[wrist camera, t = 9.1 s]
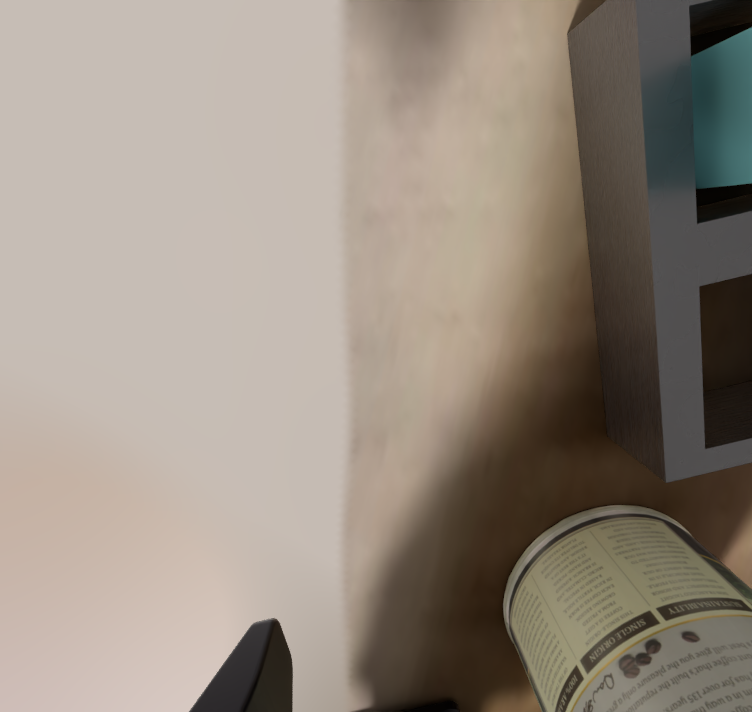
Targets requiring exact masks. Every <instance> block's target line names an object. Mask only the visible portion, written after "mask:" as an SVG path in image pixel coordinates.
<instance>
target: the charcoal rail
mask: <svg viewBox="0 0 752 712" xmlns="http://www.w3.org/2000/svg"><path fill="white" fill-rule="evenodd" d="M749 22H752V0H606V1H605V2H604V3H603V4H602V5H600V6H599V7H598V8H597V9H596V10H595V11H593V12H592V13H591V14H590V15H589V16H587V17H586V18H585V19H584V20H583V21H582V22H580V23H579V24H578V25H577V26H576V27H575V28H573V29H572V30H571V31H570V32H569V33H568V34H567V35H568V45H569V55H570V65H571V75H572V86H573V96H574V106H575V116H576V126H577V136H578V146H579V156H580V166H581V176H582V186H583V196H584V206H585V216H586V226H587V236H588V246H589V257H590V267H591V277H592V287H593V297H594V307H595V317H596V327H597V337H598V347H599V357H600V367H601V377H602V387H603V397H604V407H605V417H606V427H607V436H608V437H609V438H610V439H612V440H613V441H614V442H615V443H617V444H618V445H619V446H620V447H622V448H623V449H624V450H625V451H627V452H628V453H629V454H630V455H632V456H633V457H634V458H635V459H637V460H638V461H639V462H640V463H642V464H643V465H644V466H645V467H647V468H648V469H649V470H650V471H652V472H653V473H654V474H655V475H657V476H658V477H659V478H660V479H662V480H663V481H664V482H665V483H668V482H672V481H676V480H681V479H685V478H689V477H693V476H697V475H702V474H706V473H710V472H714V471H718V470H722V469H727V468H731V467H735V466H739V465H743V464H748V463H752V381H749V382H745V383H741V384H736V385H732V386H728V387H724V388H720V389H716V390H711V391H707V392H703V378H702V350H701V322H700V295H699V286H703V285H707V284H711V283H715V282H720V281H724V280H728V279H732V278H736V277H741V276H745V275H749V274H752V194H749V195H745V196H741V197H736V198H732V199H728V200H724V201H720V202H715V203H711V204H707V205H703V206H699V207H696V184H695V156H694V128H693V100H692V73H691V45H690V36H695V35H699V34H703V33H707V32H711V31H716V30H720V29H724V28H728V27H732V26H737V25H741V24H745V23H749Z"/></svg>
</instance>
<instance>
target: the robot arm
mask: <svg viewBox="0 0 752 712" xmlns="http://www.w3.org/2000/svg"><path fill="white" fill-rule="evenodd" d="M292 680H293V668H292V658H291V654H290V651H289V648H288V645H287V642H286V639H285V637H284V634H283V631H282V628H281V626H280V623H279V621H278V620H277V619H274V618H271V619H267V620H263V621H259V622H256V623H254V624H253V625H251V627H250V628H249V629H248V631H247V632H246V633H245V635H244V636H243V637H242V639H241V640H240V642H239V643H238V645H237V646H236V647H235V649H234V650H233V651H232V653H231V654H230V656H229V657H228V658H227V660H226V661H225V663H224V664H223V665H222V667H221V668H220V669H219V671H218V672H217V674H216V675H215V677H214V678H213V679H212V681H211V682H210V684H209V685H208V687H207V688H206V689H205V691H204V692H203V693H202V695H201V696H200V697H199V699H198V700H197V702H196V703H195V704H194V706H193V707H192V708H191V710H190V711H189V712H292V682H293V681H292ZM405 712H460V709H459V706H458V704H457V703H456V702H453V701H447V702H443V703H439V704H435V705H430V706H426V707H422V708H418V709H414V710H410V711H405Z"/></svg>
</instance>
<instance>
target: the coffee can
mask: <svg viewBox="0 0 752 712" xmlns="http://www.w3.org/2000/svg"><path fill="white" fill-rule="evenodd" d="M503 613H504V620H505V625H506V628H507V632H508V634H509V636H510V638H511V640H512V642H513V643H514V645H515V647H516V649H517V651H518V654H519V656H520V659H521V661H522V664H523V666H524V668H525V671H526V673H527V676H528V678H529V681H530V683H531V686H532V688H533V691H534V693H535V696H536V698H537V701H538V703H539V706H540V708H541V710H542V712H752V589H751V588H749V587H748V586H747V585H746V584H745V583H744V582H743V581H742V580H740V579H739V578H738V577H737V576H736V575H735V574H734V573H733V572H732V571H731V570H729V569H728V568H727V567H726V566H725V565H724V564H723V563H722V562H720V561H719V560H718V559H717V558H716V557H715V556H714V555H712V554H711V553H710V552H709V551H708V550H707V549H706V548H704V547H703V546H702V545H701V544H700V543H699V542H698V541H696V540H695V539H694V538H693V537H692V535H691V534H690V533H689V532H688V531H687V530H686V529H685V528H684V527H683V526H682V525H681V524H679V523H678V522H677V521H675V520H674V519H672V518H670V517H669V516H667V515H665V514H663V513H661V512H658V511H655V510H653V509H650V508H646V507H641V506H632V505H610V506H604V507H598V508H593V509H590V510H586V511H583V512H580V513H577V514H575V515H572V516H569V517H567V518H565V519H563V520H561V521H560V522H559V523H557V524H556V525H554V526H553V527H551V528H549V529H548V530H546V531H545V532H544V533H542V534H541V535H540V536H539V537H538V538H537V539H535V540H534V541H533V542H532V544H531V545H530V546H529V547H528V548H527V549H526V550H525V552H524V553H523V554H522V556H521V557H520V558H519V560H518V561H517V563H516V565H515V567H514V569H513V570H512V572H511V574H510V576H509V578H508V583H507V587H506V590H505V594H504V602H503Z"/></svg>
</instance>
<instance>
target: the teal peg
mask: <svg viewBox="0 0 752 712" xmlns="http://www.w3.org/2000/svg"><path fill="white" fill-rule="evenodd" d="M691 73H692V100H693V128H694V156H695V184H696V189H701V188H711V187H721V186H731V185H740V184H750V183H752V27H751V28H749V29H747V30H745V31H743V32H741V33H739V34H737V35H734V36H732V37H730V38H728V39H726V40H724V41H722V42H720V43H718V44H716V45H714V46H712V47H710V48H708V49H706V50H704V51H701V52H699V53H697V54H695V55H693V56H691Z"/></svg>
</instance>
